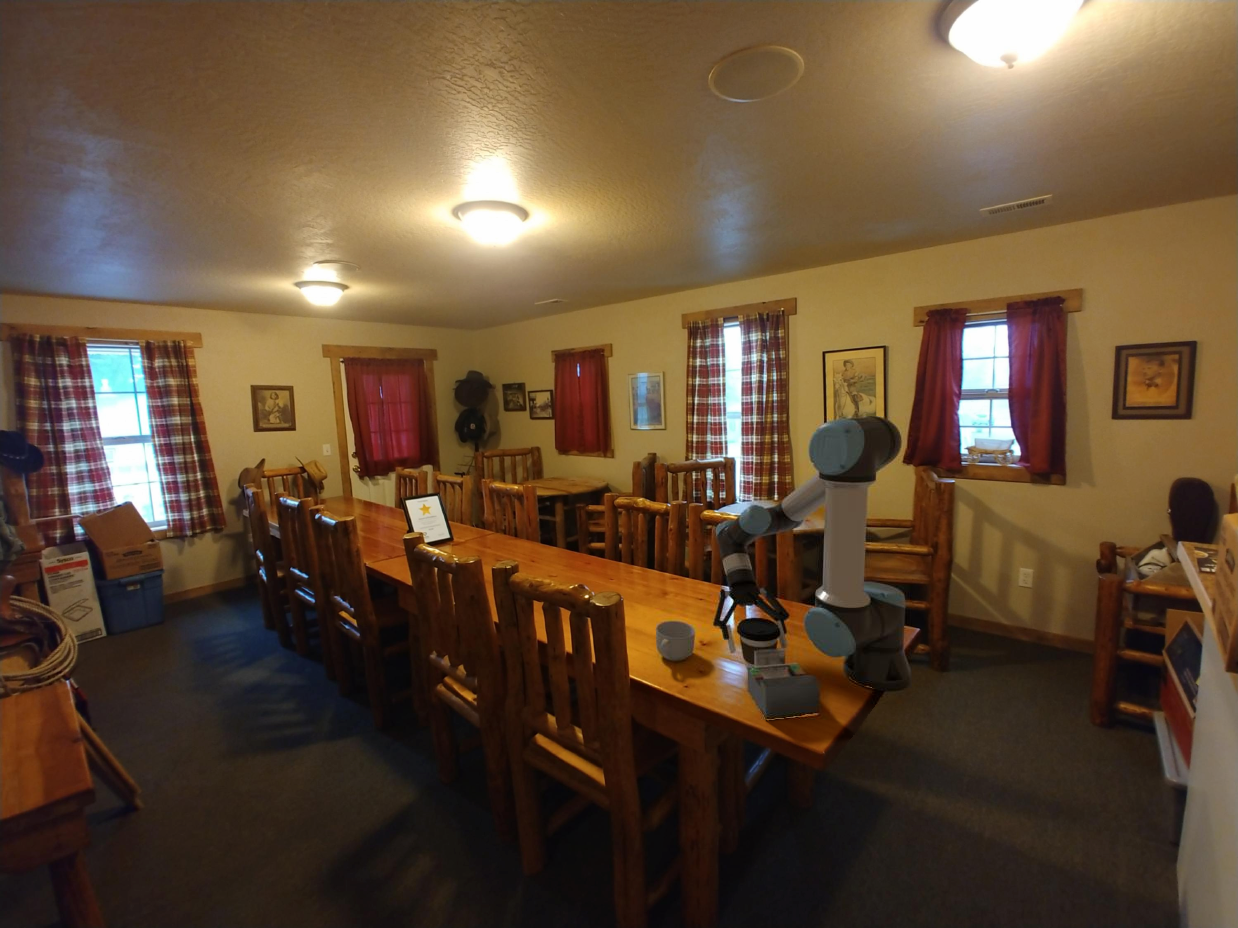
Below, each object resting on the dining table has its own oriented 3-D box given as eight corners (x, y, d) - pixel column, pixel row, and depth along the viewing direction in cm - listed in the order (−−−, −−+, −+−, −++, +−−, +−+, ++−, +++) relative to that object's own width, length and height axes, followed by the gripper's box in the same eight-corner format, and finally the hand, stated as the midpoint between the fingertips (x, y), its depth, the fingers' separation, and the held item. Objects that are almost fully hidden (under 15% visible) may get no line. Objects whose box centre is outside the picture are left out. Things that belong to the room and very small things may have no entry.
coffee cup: (786, 680, 127) (786, 634, 125) (742, 681, 127) (741, 636, 126) (774, 658, 138) (773, 615, 136) (733, 659, 138) (732, 617, 137)
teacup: (670, 642, 149) (669, 616, 148) (703, 653, 142) (702, 625, 141) (641, 662, 138) (640, 634, 137) (675, 675, 131) (674, 645, 130)
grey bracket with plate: (747, 681, 125) (746, 650, 124) (790, 677, 126) (790, 647, 125) (756, 696, 119) (755, 664, 118) (801, 692, 120) (802, 659, 118)
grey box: (747, 691, 123) (747, 660, 122) (795, 686, 124) (795, 655, 123) (765, 721, 112) (765, 686, 111) (818, 715, 113) (818, 681, 112)
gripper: (778, 575, 148) (801, 649, 135) (693, 582, 145) (708, 658, 133) (786, 563, 142) (810, 640, 129) (697, 570, 139) (714, 648, 127)
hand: (759, 649), depth 131 cm, fingers open, 13 cm apart
